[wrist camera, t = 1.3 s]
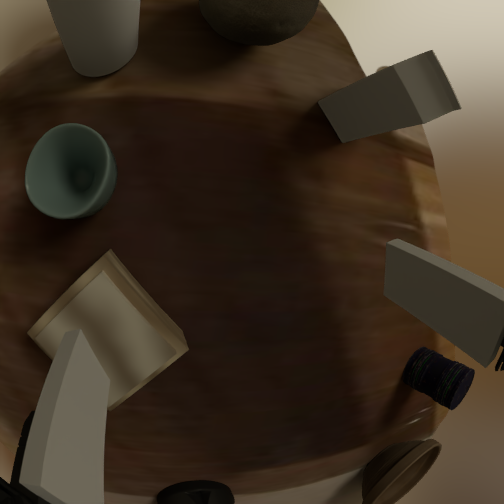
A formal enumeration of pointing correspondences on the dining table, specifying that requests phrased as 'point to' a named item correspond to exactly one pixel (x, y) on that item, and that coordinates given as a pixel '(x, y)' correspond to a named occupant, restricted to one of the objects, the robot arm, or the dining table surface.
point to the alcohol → (97, 33)
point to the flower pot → (398, 470)
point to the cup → (70, 172)
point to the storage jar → (438, 377)
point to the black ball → (258, 19)
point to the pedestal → (113, 327)
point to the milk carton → (391, 99)
